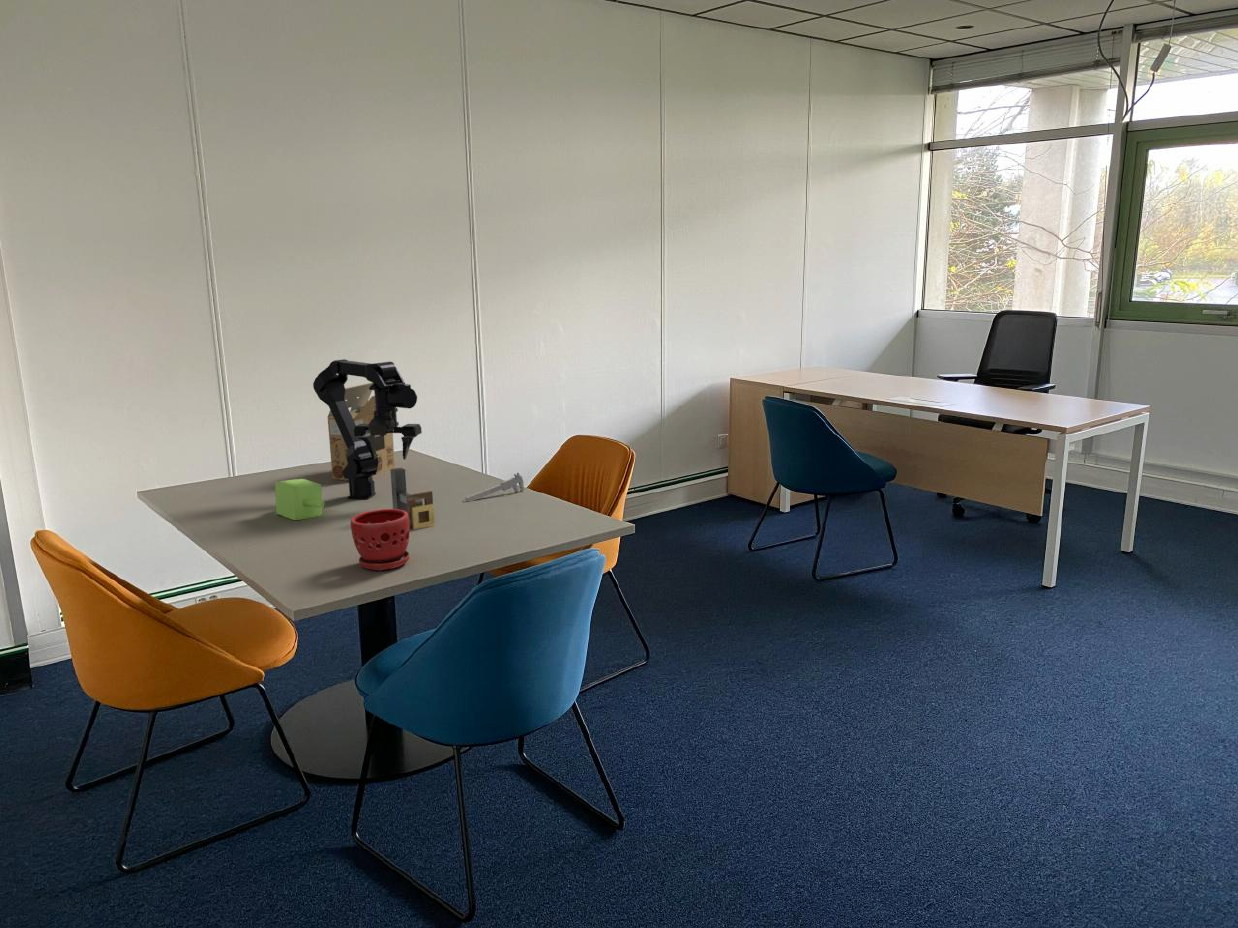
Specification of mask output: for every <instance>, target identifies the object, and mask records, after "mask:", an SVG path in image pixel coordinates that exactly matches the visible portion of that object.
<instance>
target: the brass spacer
mask: <svg viewBox="0 0 1238 928" xmlns="http://www.w3.org/2000/svg"><path fill="white" fill-rule="evenodd" d="M423 511H427V521H421V522H419V515H418V512H423ZM411 519H412V528H411V529H412V530H413V531H414V530H415V531H416V530H419V529H424V528H430V527H435V526H436V523H435V506H434V503H433V504H432V503H430V504H424V503H423V505H419V506H413V507H411Z"/></svg>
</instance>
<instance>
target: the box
mask: <svg viewBox="0 0 1238 928" xmlns="http://www.w3.org/2000/svg"><path fill="white" fill-rule="evenodd" d="M372 384H373V382H368V383H363V384H358V385H355V386H350V387H345V390H346V391H345V397H344V400H345V402H346V404H347V407H348V409H349V411H350V413H351V415H352V418H353V420H354V422H355V424H356V426H357V425H359V424H369V423H370V421H371V420H372V419H373V418H374V411H375V410H376V408H375V395H372V396H371V394H372V392H373V390H369V387H370V386H371V385H372ZM327 427H328V436H329V437H328V439H329V441H328V442H329V453H330V464H331V476H332V477H331V479H332V480H335V479H342V480H341V481H347V480H349V479H345V478H344V476H343V470H344V469H345V467H346V466H347V464H348V462H347V459H346V457H347V450H348V448H347V446H346V444H345V441H344V439H343V437H342V435H341V432H340V430H339V428H338V426H337V424H336V421H335V419H334V417H333V415H332V412H331V410H330V409H329V412H328V415H327ZM363 442H364V441H363ZM364 443H365V442H364ZM375 445H376V453H377V455H378V456H377V457H378V461H379V463H378V468H377V473H376V475H375V476H378V475H380V474H383V473H385V472H388V471H390V469H395V467H396V466H395V465H396V464H395V463H396V461H395V448H394V447H395V446H394V433H387V434H386V435H385V436H380V435H375ZM382 472H383V473H382ZM377 474H378V475H377ZM375 476H374V475H372V477H375Z"/></svg>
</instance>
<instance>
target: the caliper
mask: <svg viewBox="0 0 1238 928" xmlns="http://www.w3.org/2000/svg"><path fill="white" fill-rule="evenodd" d="M518 486H519V488H518ZM511 488H512V489H513V490H514V492H515V493H519V490H520V492H524V489H525V488H524V480H523V477H522V475H520V473H519V472H516V473H514V474H513V477H511V478H509V479H506V480H503V481H501V482H500V483H499V484H497V485H494V486H492V487H490V488H487V489H484V490H481V491H479V492H476V493H474V494H471V495H468V496H466V497H465V499H463V500H461V501H462V503H467V502H473V500H474V501H475V500H476V501H477V500H478V499H481V498H483V497H486V496H489V495H491V494H494V493H497V492H500V491H501V490H502V491H503V492H505V491H507V490H510V489H511Z"/></svg>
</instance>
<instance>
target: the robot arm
mask: <svg viewBox="0 0 1238 928" xmlns="http://www.w3.org/2000/svg"><path fill="white" fill-rule="evenodd" d="M348 376H354V377H361V378H365V379H366V380H367V381H368V382H369V383H372V382H373V384H372V385H371V386H370V387H369V390H372V391H374V396H375V408H376V410H375V411H374V418H373V419H372V420H371V421H370V423H369V424H359V425H357V426H356V424H355V422H354V420H353V418H352V415H351V413H350V408H348V407H347V404H346V402H345V401H346V400H344V397H345V391H346V390H345V388H346V387H345V384H346V383H347V382H348V380H349V379H348ZM411 387H412V385H411V384H410V383H406V382H405V381H404V378H403V377H402V375H401V374H400V371H399V370H398V368H397V367H396V365H395V363H394V362H393V361H384V362H383V361H382V362H375V363H370V362H369V363H368V362H362V361H353V360H347V359H345V358H344V359H336V360H333V361H331V362H330V363H329V365H328V366H327V367H326V368H324V370H321V372H320V373H319V374H318V375H317V376H316V377H315V379H314V381H313V383H312V388H313V390H314V392H315V393H316V395H317V397H318V399H319V400H320V401H322V402H323V403H324V404H325V405H327V406H328V407H329V411H330V410H331V412H332V415H333V417H334V419H335V421H336V424H337V426H338V428H339V430H340V432H341V435H342V437H343V439H344V441H345V444H346V446H347V448H348V450H347V457H346V459H347V462H348V464H347V466H346V467H345V469H344V470H343V476H344V478H345V479H349V481H348V490H349V495H348V496H347V499H349V500H350V499H358V500H359V499H360V500H367V499H370V498H372V497H373V496H375V495H376V489H375V488H376V487H375V481H374V479H373V476H372V475H375V476H377V475H376V473H377V468H378V463H379V461H378V457H377V456H378V455H377V453H376V445H375V435H380V436H385V435H386V434H387V433H393V434H401V435H402V436H401V442H402V459H403V460H407V456H408V453H409V451H410V447H411V445H412V443H413V440H414V439H415V438H416V437H418V435H420V434H422V431H423V430H422V426H421V424H420V423H407V424H404V425H401V426H399V425H400V424H399V421H398V420H397V419H398V418H397V417H398V416H397V412H398V409H399V408H400V409H401V408H402V409H412V408H414V407H415V406H416V403H417V402H418V395H417V393H416V390H414V389H413V388H411ZM363 441H364V442H365V443H364V442H363Z"/></svg>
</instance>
